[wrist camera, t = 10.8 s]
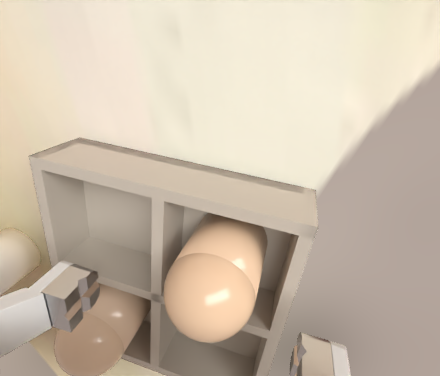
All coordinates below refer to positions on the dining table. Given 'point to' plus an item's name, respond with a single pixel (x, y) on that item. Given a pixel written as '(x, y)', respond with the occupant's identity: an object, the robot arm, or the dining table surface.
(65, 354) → the seated egg
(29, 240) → the white egg
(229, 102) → the dining table surface
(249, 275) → the brown egg
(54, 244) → the carton
